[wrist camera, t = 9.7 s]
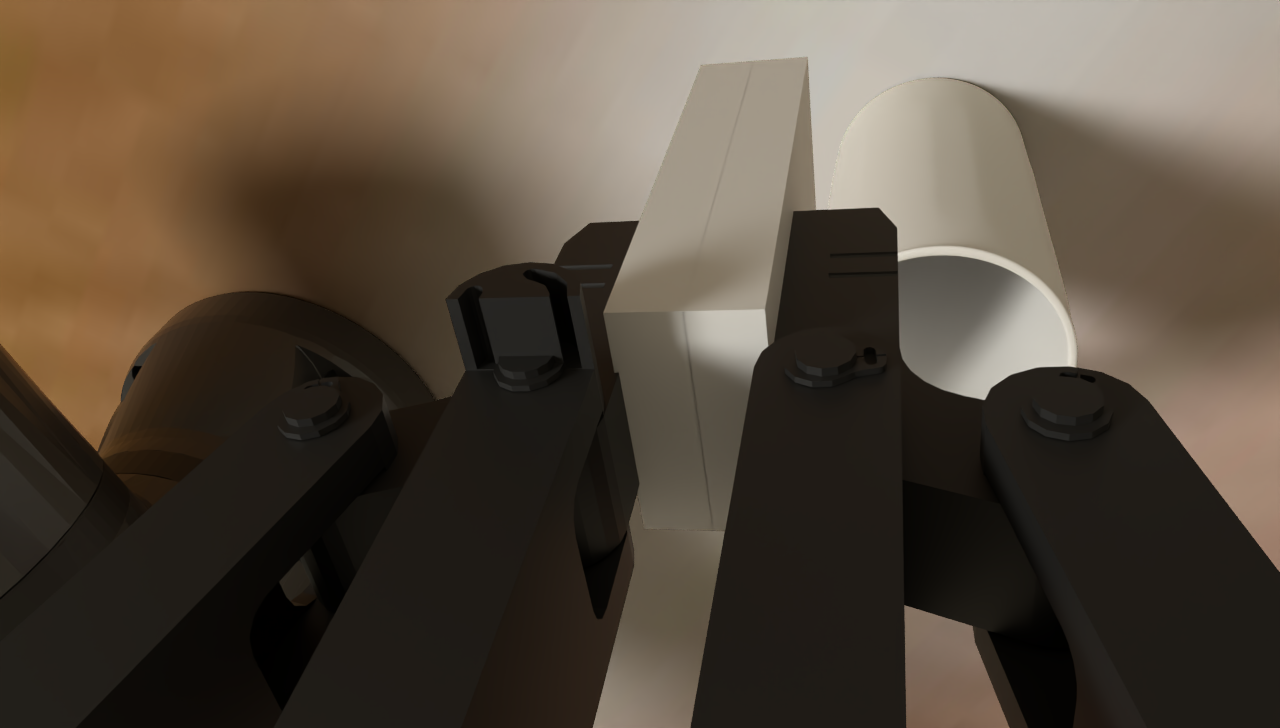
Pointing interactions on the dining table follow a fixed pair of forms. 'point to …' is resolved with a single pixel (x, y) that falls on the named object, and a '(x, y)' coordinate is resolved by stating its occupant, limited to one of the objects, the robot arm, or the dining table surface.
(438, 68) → the dining table surface
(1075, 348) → the mug
